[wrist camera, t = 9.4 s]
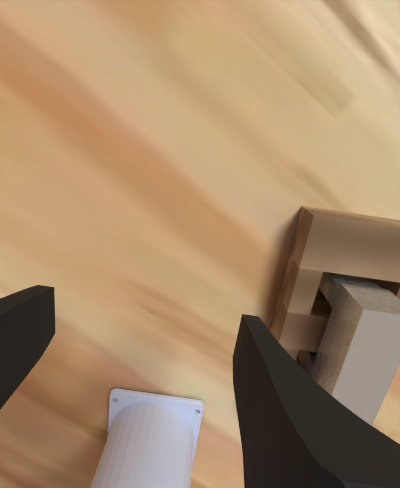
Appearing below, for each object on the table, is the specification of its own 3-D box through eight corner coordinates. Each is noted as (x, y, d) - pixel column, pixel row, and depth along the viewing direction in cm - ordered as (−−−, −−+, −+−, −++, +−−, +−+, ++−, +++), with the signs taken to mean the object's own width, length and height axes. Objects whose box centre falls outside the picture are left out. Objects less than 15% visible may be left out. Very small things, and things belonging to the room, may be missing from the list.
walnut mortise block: (347, 404, 25) (361, 431, 23) (254, 391, 25) (258, 417, 23) (420, 223, 20) (448, 235, 18) (301, 206, 20) (313, 215, 18)
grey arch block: (333, 360, 24) (370, 429, 18) (295, 355, 24) (321, 422, 18) (365, 269, 21) (420, 317, 16) (323, 263, 21) (363, 309, 16)
